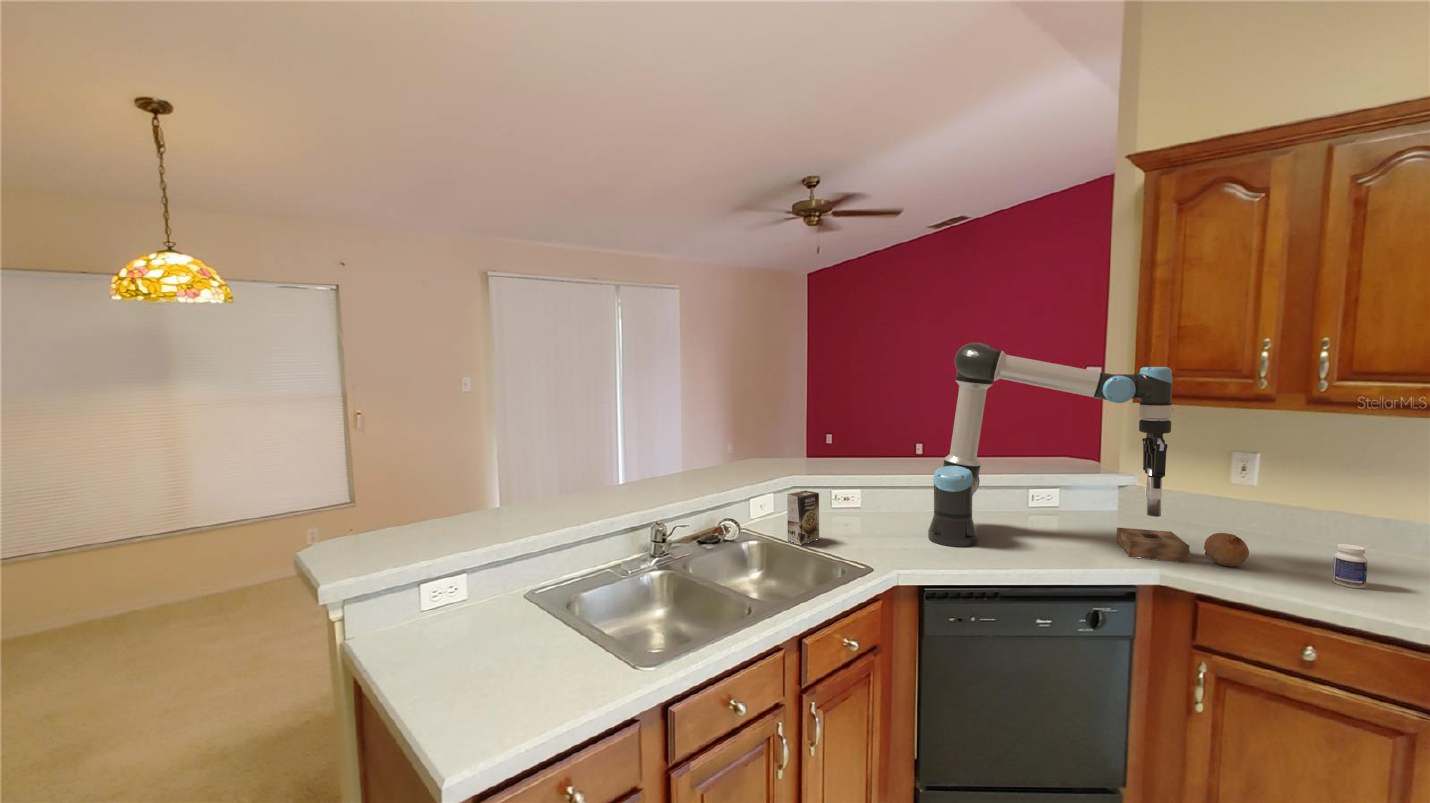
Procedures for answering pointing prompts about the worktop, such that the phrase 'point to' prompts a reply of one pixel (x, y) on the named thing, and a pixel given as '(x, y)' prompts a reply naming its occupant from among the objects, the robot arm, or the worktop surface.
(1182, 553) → the wooden block with hole
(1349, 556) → the pill bottle
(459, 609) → the worktop surface
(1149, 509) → the steel pin
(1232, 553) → the kiwi fruit
